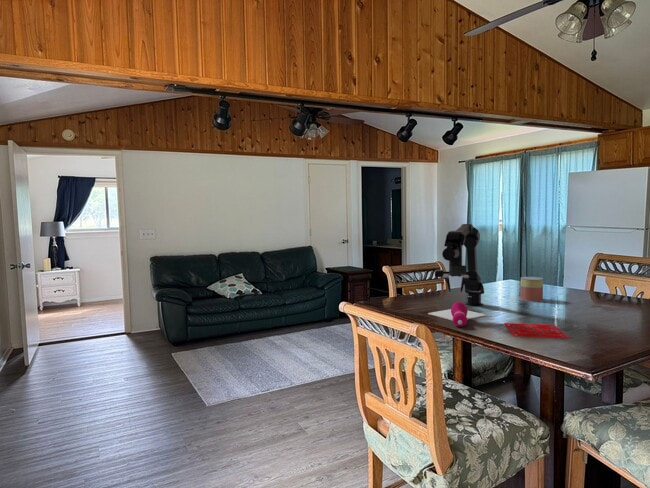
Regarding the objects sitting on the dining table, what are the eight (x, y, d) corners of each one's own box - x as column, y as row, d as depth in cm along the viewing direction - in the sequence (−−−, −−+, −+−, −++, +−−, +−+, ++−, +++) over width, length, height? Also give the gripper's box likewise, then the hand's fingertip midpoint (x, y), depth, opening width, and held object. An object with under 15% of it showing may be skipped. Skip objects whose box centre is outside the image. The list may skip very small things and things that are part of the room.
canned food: (544, 298, 239) (544, 277, 239) (541, 302, 230) (542, 280, 229) (521, 297, 245) (522, 276, 245) (518, 300, 236) (519, 278, 235)
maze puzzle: (553, 326, 184) (554, 324, 184) (569, 339, 165) (569, 338, 165) (503, 324, 188) (504, 323, 188) (513, 337, 169) (513, 335, 169)
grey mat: (457, 308, 219) (457, 308, 219) (486, 315, 203) (486, 314, 203) (427, 314, 209) (427, 313, 209) (456, 321, 193) (456, 320, 193)
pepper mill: (470, 306, 198) (472, 320, 179) (461, 318, 200) (463, 334, 181) (456, 297, 199) (457, 311, 180) (447, 310, 201) (447, 325, 182)
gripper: (434, 260, 193) (434, 294, 195) (478, 260, 189) (478, 295, 190) (434, 257, 204) (434, 290, 205) (476, 258, 199) (476, 291, 200)
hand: (455, 292), depth 200 cm, fingers open, 5 cm apart
